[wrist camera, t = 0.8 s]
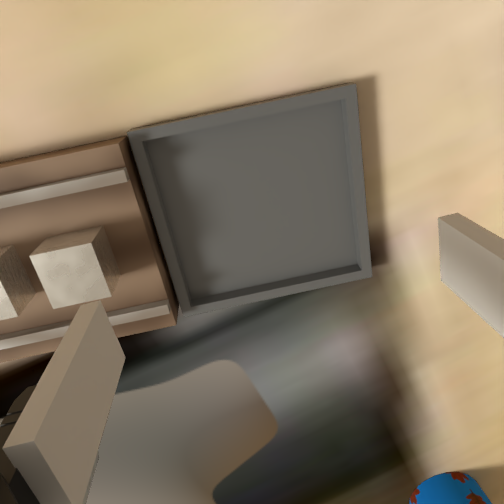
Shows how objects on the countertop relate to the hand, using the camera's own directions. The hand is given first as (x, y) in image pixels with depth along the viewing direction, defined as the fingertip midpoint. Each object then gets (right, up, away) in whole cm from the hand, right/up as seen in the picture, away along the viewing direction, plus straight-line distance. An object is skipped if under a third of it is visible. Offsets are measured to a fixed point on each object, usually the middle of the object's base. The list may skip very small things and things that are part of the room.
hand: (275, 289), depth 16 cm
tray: (0, +6, +26) cm, 26 cm away
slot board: (-20, +2, +25) cm, 33 cm away
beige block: (-16, +1, +22) cm, 27 cm away
